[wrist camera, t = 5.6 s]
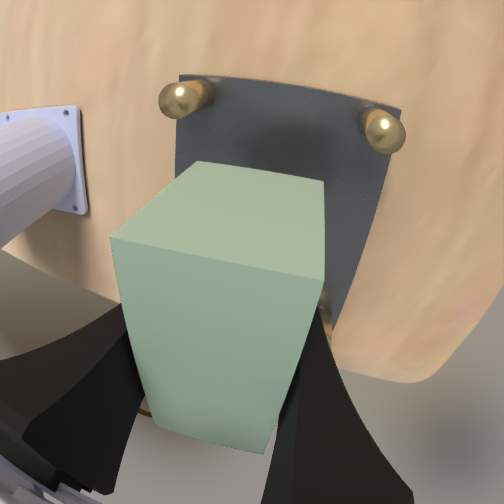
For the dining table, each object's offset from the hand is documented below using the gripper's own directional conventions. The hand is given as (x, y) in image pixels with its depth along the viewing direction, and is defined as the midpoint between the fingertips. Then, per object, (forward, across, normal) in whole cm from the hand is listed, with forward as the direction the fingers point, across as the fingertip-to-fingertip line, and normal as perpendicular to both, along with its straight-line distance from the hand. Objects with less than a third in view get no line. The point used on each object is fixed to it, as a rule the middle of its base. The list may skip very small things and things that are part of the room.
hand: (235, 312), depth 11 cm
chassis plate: (+9, 0, 0) cm, 9 cm away
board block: (+2, 0, 0) cm, 2 cm away
